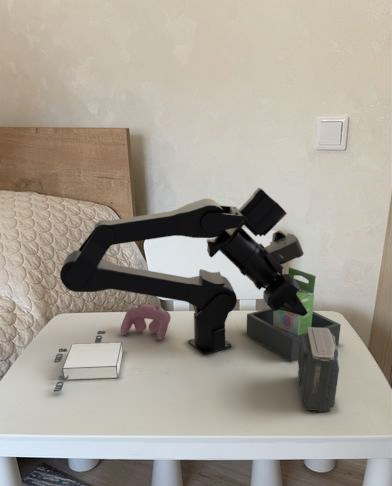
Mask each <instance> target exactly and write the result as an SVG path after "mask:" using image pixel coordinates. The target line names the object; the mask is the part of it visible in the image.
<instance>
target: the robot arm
mask: <svg viewBox="0 0 392 486" xmlns="http://www.w3.org/2000/svg"><path fill="white" fill-rule="evenodd" d="M251 194H252V195H251V196H250V197H249V198H248V199H247V200H246V201H244V203H243V204H242V205H241V206H240V207H239V208H238V207H237V206H231V205H222V204H219V203H218V202H217V201H216V200H214V199H211V198H203V199H199V200H195V201H193V202H190V203H187V204H185V205H183V206H181V207H179V208H177V209H173V210H170V211H163V212H158V213H151V214H144V215H137V216H130V217H124V218H117V219H102V220H99V221H98V222H97V223H95V225H94V228H93V230H92V231H91V232H90V233H89V235H88V236H87V238H86V239H84V241H83V243H82V244H81V245H80V247H79V248H78V249H77V250H73V251H71V253H69V254H68V255H67V256H66V257H65V260H64V262H63V264H62V266H61V269H60V273H59V276H60V277H59V278H60V281H61V283H62V285H63V286H64V287H65V289H67V290H68V291H71V292H73V293H96V292H101V291H106V290H115V291H121V292H127V293H131V294H139V295H145V296H152V297H156V298H161V299H169V300H174V301H180V302H185V303H188V304H190V305H191V306H193V307H192V308H193V310H194V313H193V331H194V332H193V333H194V338H192V339H187V343H188V345H190V346H191V347H192V348H194V349H195V350H196V351H198V352H199V353H201V354H202V355H203V356H206V355H209V354H213V353H216V352H219V351H223V350H226V349H229V348H232V343H230V341H227V340H226V321H227V318H228V316H229V313H231V312H232V311H233V310H234V309H235V308H236V305H237V303H238V302H237V301H238V297H237V294H236V291H235V290H234V287H233V286H232V284H231V282H230V281H229V279H228V278H227V277H225V276H224V275H222V273H221V271H217V272H216V271H215V272H212V271H208V270H205V269H199V270H198V271H199V273H198V275H197V276H191V277H186V276H181V275H174V274H170V273H169V274H168V273H165V272H160V271H159V272H158V271H152V270H147V269H141V268H136V267H130V266H124V265H120V264H119V265H118V264H115V263H112V262H111V261H108V260H106V259H105V258H104V257H105V255H106V253H107V252H108V250H109V249H110V247H111V246H114V245H122V244H127V243H133V242H140V241H141V242H142V241H147V240H155V239H162V238H168V237H174V236H175V237H186V238H193V239H206V244H207V249H206V251H207V254H208V256H209V257H210V258H214V256H216V254H217V253H218V252H220V253H222V254H223V256H225V257H226V259H228V260H229V261H230V262H231V263H232V264H233V265H234V266H235V267H236V268H237V269H238V271H239V272H240V274H242V276H244V277H245V276H246V277H247V278H248V279H249V280H250V281H251V282H252V283H253V285H254V286H255V288H256V289H257V290H258V291H260V290H261V289H262V288H263V289H264V290H263V295H262V297H263V299H264V303H266V305H267V306H268V308H271V309H272V310H273V311H277V310H283V311H287V312H291V313H294V314H298V315H301V316H305V315H306V314H307V313H308V312H307V310H306V309H305V307H304V305H303V304H302V302H301V301H300V299H299V298H298V296H297V292H298V291H299V289H300V286H299V285H298V284H297V282H296V281H295V280H294V279H295V278H294V279H293V278H292V277H291V276H290V275H289V274H288V273H283V270H284V266H283V265H284V264H287V263H289V262H290V261H292V260H295V259H300V258H301V257H302V256H304V254H305V253H304V250H303V248H302V245H301V243H300V241H299V238H298V237H297V236H296V235H294V234H293V233H289V232H288V233H287V235H286V234H285V233H283V232H282V230H277V231H274V232H273V233H272V236H271V237H272V238H271V241H270V242H269V244H268V245H266V246H264V245H263V244H262V243H261V242H260V243H259V242H257V240H255V239H254V238H253V237H252V236H251V235H250V234H249V233H248V232H247V231H246V230H245V229H244V228H243V227H245V228H246V229H248V230H249V231H250V233H251V234H252V235H254V236H255V237H258V236H259V237H262V236H264V237H265V236H266V235H267V234H268V233H270V232H271V230H272V229H273V228H274V227H276V225H277V224H279V223H280V221H282V219H283V218H284V217H286V215H287V214H288V212H286V210H285V209H284V208H283V207H282V206H281V205H280V204H279V203H278V202H277V201H276V200H274V199H273V198H272V197H271V196H270V195H269V194H268V193H267V192H266V191H265V190H264V189H262V188H261V187H257V188H256V189H255V190H254V191H253V193H251Z"/></svg>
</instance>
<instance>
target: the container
mask: <svg viewBox="0 0 392 486" xmlns="http://www.w3.org/2000/svg"><path fill="white" fill-rule="evenodd" d="M101 334H102V335H101ZM105 334H107V333H106V330H98V331H97V335H96V336H95V339H94V342H90V343H88V342H87V343H71V345H70V348H69V350H68V349H67V348H59V349H58V353H57V354H56V355H55V358H54V360H53V363H61V362H62V360H63V357H64V355H63V353H67V352H68V353H67V355H66V358H65V361H64V363H63V365H62V368H61V370H62V375H63V376H62V375H59V376H58V380H60V381H57V382H56V384H55V387H54V389H53V392H61V391H62V389H63V387H64V385H65V383H64V382H63V381H78V380H102V379H118V378H119V375H120V370H121V364H122V359H123V354H124V352H123V351H124V350H123V342H122V341H118V342H117V341H115V342H102V339H103V335H105ZM61 379H62V380H63V381H61Z"/></svg>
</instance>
